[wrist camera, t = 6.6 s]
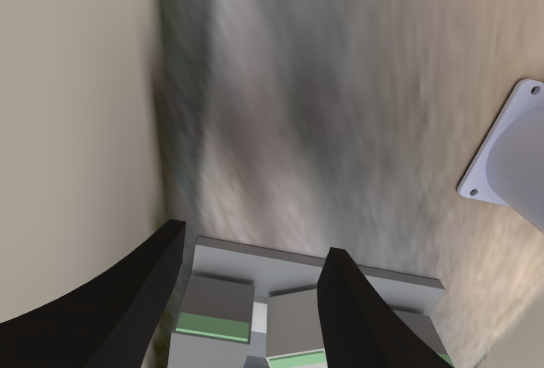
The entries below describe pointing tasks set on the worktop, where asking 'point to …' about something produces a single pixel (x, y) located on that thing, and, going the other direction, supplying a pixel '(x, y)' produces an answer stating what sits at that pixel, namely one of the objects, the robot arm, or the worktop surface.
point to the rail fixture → (253, 302)
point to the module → (294, 331)
